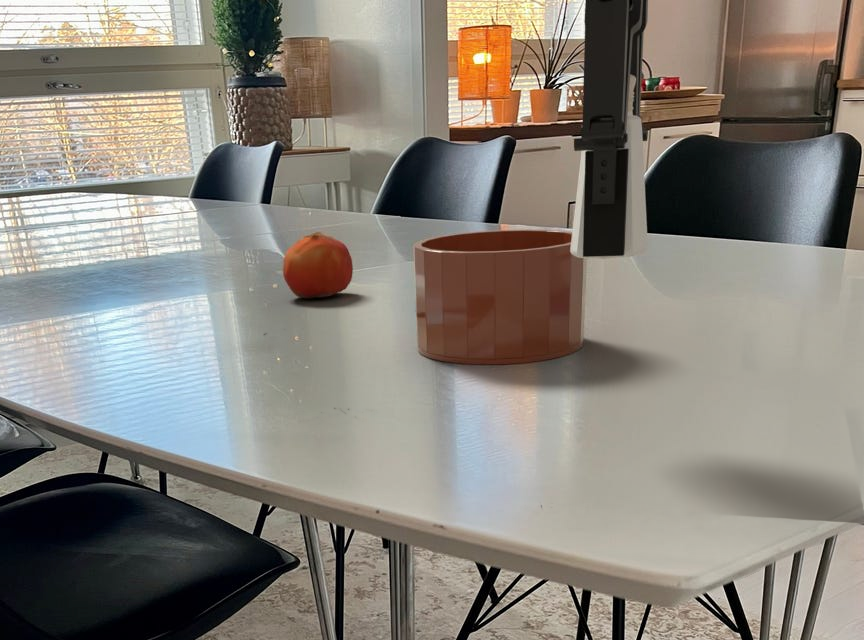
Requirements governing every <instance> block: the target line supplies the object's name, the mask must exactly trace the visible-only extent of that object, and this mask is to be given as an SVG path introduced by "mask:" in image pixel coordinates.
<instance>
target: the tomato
mask: <svg viewBox="0 0 864 640" xmlns="http://www.w3.org/2000/svg"><path fill="white" fill-rule="evenodd" d="M282 263H283V265H282V274H283V275H282V276H283V279H284V281H285V282H286V284H287V286H288V288H289V289H290V291H291V292H292V293H293V294H294V295H295V296H296V297H298V298H300V299H312V298H326V297H331V296H333V295H335V294H337V293H342V292H343V291H344V290H346V289H348V287H349V285H350V283H351V281H352V279H353V274H354V273H353V272H354V270H353V269H354V266H353V258H352V257H351V253H350V251H349V249H348V247H347V246H346V244H344V243H343V242H342V241H340V240H338V239H336V238H334V237H332V236H330V235H327V234H325V233H323V232H320V231H319V232H312V233H311V234H307V235H304V236H303V237H302V238H301V239H299V240H297V241H296V242H295V243H294V244H293V245H292V246H291V247H289V248H288V250H287V251H286V253H285V255H284V258H283V262H282Z"/></svg>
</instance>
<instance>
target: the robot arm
mask: <svg viewBox="0 0 864 640" xmlns="http://www.w3.org/2000/svg"><path fill="white" fill-rule="evenodd" d="M584 5H585V7H584V22H583V23H584V49H583V50H584V51H583V52H584V53H583V93H582V124H581V126H580V135H581V137H579V138H577V137H575V138H573V151H574V152H581V151H585V150H591V151H585V188H584V230H583V257H594V256H623V255H624V252H625V228H626V204H627V180H628V157H629V148H627V149H621V148H625V144H626V142H627V141H628V134H627V133H626V129H627V114H628V99H629V84H630V75H633V76H635V77H636V83H635V87H634V90H633V92H634V93H635V94H634V95H633V96H634V98H633V99H634V101H633V110H632V112H633V115H634V116H638V117H640V118H641V122H642V118H643V117H642V116H641V106H642V105H641V104H642V83H643V82H642V79H643V57H644V56H643V54H644V34H645V30H646V28H647V24H648V21H649V19H648V18H649V16H648V15H649V14H648V13H649V0H585V3H584ZM642 136H643V142H648V138H649V128H642Z"/></svg>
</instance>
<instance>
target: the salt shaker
mask: <svg viewBox="0 0 864 640" xmlns="http://www.w3.org/2000/svg"><path fill="white" fill-rule="evenodd" d="M635 83H636V77H635V76H633V75H630V84H629V99H628V114H627V129H626V133H627V134H628V141H627V142H626V144H625V148H621V149H627V148H629V157H628V180H627V204H626V228H625V252H624V255H623V256H594V257H583V230H584V188H585V151H591V150H585V151H580V152H581V153H580V162H579V169H578V170H579V171H578V180H577V189H576V197H575V204H574V205H575V206H574V214H573V223H572V231H571V232H572V239H571V248H570V252H571V254H572V255H574V256H576V257H578V258H587V259H599V260H600V259H601V260H604V259H605V260H607V259H617V258H629V257H630V258H631V257H635V256H638V255H642V254H645V253H647V252H648V250H649V246H648V245H649V243H648V225H647V224H648V221H647V204H646V203H647V200H646V181H645V180H646V179H645V159H644V157H645V156H644V141H643V136H642V129H643V123H642V121H641V118H640V117H638V116H634V115H633V112H632V110H633V101H634V99H633V98H634V96H633V95H634V94H635V93H634V92H633V90H634V87H635Z"/></svg>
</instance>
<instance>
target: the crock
mask: <svg viewBox="0 0 864 640" xmlns="http://www.w3.org/2000/svg"><path fill="white" fill-rule="evenodd" d="M571 239H572V231H568V230H557V229H556V230H555V229H499V230H498V229H497V230H482V231H469V232H460V233H451V234H445V235H438V236H433V237H429V238H425V239H421V240H418V241H416V242H415V243H413V245H412V247H413V249H412V250H413V273H414V299H415V324H416V325H415V327H416V344H417V352H418V353H419V354H420V355H422V356H423V357H426V358H428V359H431V360H435V361H440V362H446V363H452V364H464V365H485V366H486V365H490V366H491V365H493V366H494V365H514V364H515V365H516V364H527V363H535V362H541V361H547V360H552V359H557V358H560V357H564V356H567V355H570V354H573V353H575V352H577V351H578V350H580V349H581V348H582V347H583V344H584V339H585V323H586V322H585V320H586V319H585V318H586V296H587V295H586V293H587V269H588V258H578V257H576V256H574V255H572V254H571V252H570V248H571Z"/></svg>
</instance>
